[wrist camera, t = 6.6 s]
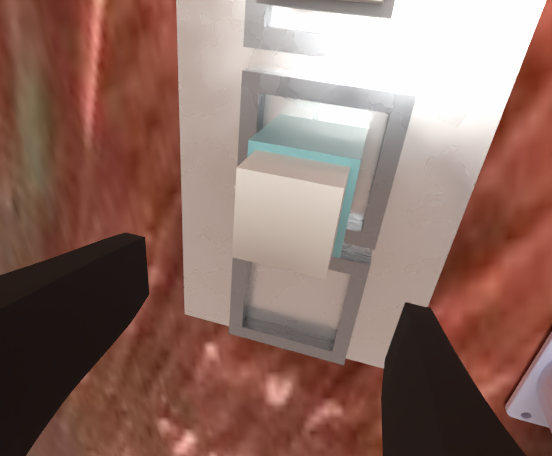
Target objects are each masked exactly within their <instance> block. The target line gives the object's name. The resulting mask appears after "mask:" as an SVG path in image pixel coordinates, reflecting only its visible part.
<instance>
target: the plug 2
mask: <svg viewBox="0 0 552 456" xmlns="http://www.w3.org/2000/svg"><path fill="white" fill-rule="evenodd" d="M367 132H368V128H361V127H355V126H349V125H343V124H337V123H331V122H325V121H319V120H313V119H307V118H301V117H295V116H289V115H283V114H280V115H278V116H277V117H276V118H275V119H273V120H272V121H271V122H270V123H269V124H267V125H266V126H265V127H264V128H262V129H261V130H260V131H259V132H258V133H256V134H255V135H254V136H253V137H251V138H250V139H249V140H248V156H247V158H246V159H245V160H244V161H243V162H242V163H241V164H240V165H239V166H238V167H237V169H236V189H235V208H234V228H233V248H232V257H233V258H237V259H242V260H246V261H250V262H254V263H258V264H262V265H267V266H271V267H275V268H279V269H283V270H287V271H292V272H296V273H300V274H304V275H308V276H312V277H317V278H321V279H325V280H326V277H327V273H328V269H329V265H330V261H331V257H337V258H340V254H341V250H342V245H343V241H344V236H345V232H346V227H347V223H348V218H349V214H350V209H351V205H352V200H353V196H354V191H355V187H356V182H357V177H358V173H359V168H360V164H361V159H362V155H363V150H364V146H365V141H366V137H367Z"/></svg>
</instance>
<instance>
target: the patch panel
mask: <svg viewBox="0 0 552 456" xmlns="http://www.w3.org/2000/svg"><path fill="white" fill-rule="evenodd" d="M545 2H546V0H396V1H395V5H394V10H393V14H392V19H385V18H376V17H367V16H358V15H349V14H340V13H331V12H322V11H313V10H304V9H295V8H287V7H280V6H274V5H267V4H260V3H256V0H176V5H177V42H178V79H179V117H180V154H181V191H182V229H183V266H184V303H185V314H186V315H190V316H193V317H197V318H201V319H204V320H208V321H212V322H215V323H219V324H223V325H226V326H229V334H233V335H237V336H240V337H244V338H247V339H251V340H255V341H258V342H262V343H265V344H269V345H273V346H276V347H280V348H283V349H287V350H291V351H294V352H298V353H301V354H305V355H309V356H312V357H316V358H320V359H323V360H327V361H330V362H334V363H338V364H341V365H344V362H345V358H347V359H351V360H354V361H358V362H362V363H365V364H369V365H372V366H376V367H380V368H383V369H384V362H385V357H386V354H387V352H388V349H389V346H390V343H391V340H392V338H393V335H394V332H395V329H396V326H397V323H398V321H399V318H400V315H401V312H402V309H403V307H404V304H405V302H408V303H412V304H416V305H420V306H424V307H428V305H429V302H430V300H431V297H432V294H433V292H434V289H435V287H436V284H437V281H438V279H439V276H440V274H441V271H442V269H443V266H444V263H445V261H446V258H447V256H448V253H449V250H450V248H451V245H452V243H453V240H454V237H455V235H456V232H457V230H458V227H459V225H460V222H461V219H462V217H463V214H464V212H465V209H466V206H467V204H468V201H469V199H470V196H471V193H472V191H473V188H474V186H475V183H476V181H477V178H478V175H479V173H480V170H481V168H482V165H483V162H484V160H485V157H486V155H487V152H488V149H489V147H490V144H491V142H492V139H493V137H494V134H495V131H496V129H497V126H498V124H499V121H500V118H501V116H502V113H503V111H504V108H505V106H506V103H507V100H508V98H509V95H510V93H511V90H512V87H513V85H514V82H515V80H516V77H517V74H518V72H519V69H520V67H521V64H522V62H523V59H524V56H525V54H526V51H527V49H528V46H529V43H530V41H531V38H532V36H533V33H534V30H535V28H536V25H537V23H538V20H539V18H540V15H541V12H542V10H543V7H544V5H545ZM280 114H283V115H289V116H295V117H301V118H307V119H313V120H319V121H325V122H331V123H337V124H343V125H349V126H355V127H361V128H368V132H367V137H366V141H365V146H364V150H363V155H362V159H361V164H360V168H359V173H358V177H357V182H356V187H355V191H354V196H353V200H352V205H351V209H350V214H349V218H348V223H347V227H346V232H345V236H344V241H343V245H342V250H341V254H340V258H337V257H331V261H330V265H329V269H328V273H327V277H326V280H325V279H321V278H317V277H312V276H308V275H304V274H300V273H296V272H292V271H287V270H283V269H279V268H275V267H271V266H267V265H262V264H258V263H254V262H250V261H246V260H242V259H237V258H233V257H232V248H233V228H234V208H235V189H236V169H237V167H238V166H239V165H240V164H241V163H242V162H243V161H244V160H245V159H246V158H247V156H248V140H249V139H250V138H251V137H253V136H254V135H255V134H256V133H258V132H259V131H260V130H261V129H262V128H264V127H265V126H266V125H267V124H269V123H270V122H271V121H272V120H273V119H275V118H276V117H277V116H278V115H280Z"/></svg>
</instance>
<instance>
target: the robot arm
mask: <svg viewBox="0 0 552 456" xmlns="http://www.w3.org/2000/svg"><path fill="white" fill-rule="evenodd" d="M148 295H149V285H148V272H147V258H146V245H145V237H141V236H137V235H133V234H129V233H123V234H119V235H116V236H112V237H109V238H106V239H104V240H101V241H98V242H95V243H92V244H90V245H87V246H84V247H81V248H79V249H76V250H73V251H70V252H68V253H65V254H62V255H59V256H57V257H54V258H51V259H48V260H45V261H42V262H39V263H36V264H33V265H30V266H27V267H24V268H21V269H18V270H15V271H12V272H9V273H6V274H3V275H0V456H26V454H27V453H28V452H29V450H30V449H31V447H32V446H33V444H34V443H35V441H36V440H37V438H38V437H39V435H40V434H41V432H42V431H43V430H44V428H45V427H46V425H47V424H48V423H49V421H50V420H51V418H52V417H53V416H54V414H55V413H56V411H57V410H58V409H59V407H60V406H61V404H62V403H63V402H64V401H65V399H66V398H67V397H68V396H69V394H70V393H71V392H72V391H73V389H74V388H75V387H76V386H77V385H78V383H79V382H80V381H81V380H82V379H83V378H84V376H85V375H86V374H87V373H88V372H89V371H90V370H91V368H92V367H93V366H94V365H95V364H96V363H97V362H98V360H99V359H100V358H101V357H102V356H103V355H104V353H105V352H106V351H107V350H108V349H109V348H110V347H111V345H112V344H113V343H114V342H115V341H116V340H117V338H118V337H119V336H120V335H121V334H122V333H123V331H124V330H125V329H126V328H127V327H128V325H129V324H130V323H131V321H132V320H133V319H134V317H135V316H136V314H137V313H138V311H139V310H140V308H141V306H142V305H143V303H144V302H145V300H146V298H147V297H148ZM381 403H382V441H383V456H526V455H525V454H524V452H523V451H522V450H521V448H520V447H519V446H518V445H517V443H516V442H515V441H514V439H513V438H512V437H511V435H510V434H509V433H508V431H507V430H506V429H505V427H504V426H503V425H502V423H501V422H500V420H499V419H498V418H497V416H496V415H495V413H494V412H493V410H492V409H491V407H490V406H489V405H488V403H487V402H486V400H485V399H484V397H483V396H482V394H481V393H480V391H479V390H478V388H477V386H476V385H475V383H474V382H473V380H472V378H471V377H470V375H469V374H468V372H467V370H466V369H465V367H464V365H463V364H462V362H461V361H460V359H459V357H458V355H457V354H456V352H455V350H454V349H453V347H452V345H451V343H450V342H449V340H448V338H447V336H446V334H445V333H444V331H443V329H442V327H441V325H440V324H439V322H438V320H437V318H436V316H435V315H434V313H433V311H432V310H431V308H428V307H424V306H420V305H416V304H412V303H408V302H405V304H404V307H403V309H402V312H401V315H400V318H399V321H398V323H397V326H396V329H395V332H394V335H393V338H392V340H391V343H390V346H389V349H388V352H387V354H386V357H385V362H384V373H383V384H382V396H381ZM505 409H506V412H507V414H508V415H509V416H510V417H513V418H516V419H519V420H523V421H527V422H530V423H534V424H537V425H541V426H544V427H548V428H550V430H551V433H552V332H551V333H550V335H549V336H548V338H547V340H546V341H545V343H544V344H543V346H542V348H541V349H540V351H539V353H538V354H537V356H536V357H535V359H534V361H533V362H532V364H531V365H530V367H529V369H528V370H527V372H526V373H525V375H524V377H523V378H522V380H521V381H520V383H519V385H518V386H517V388H516V389H515V391H514V393H513V394H512V396H511V397H510V399H509V401H508V402H507V404H506V406H505ZM524 412H526V413H524Z"/></svg>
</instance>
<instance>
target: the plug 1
mask: <svg viewBox="0 0 552 456" xmlns="http://www.w3.org/2000/svg"><path fill="white" fill-rule="evenodd" d="M395 1H396V0H256V3H260V4H267V5H274V6H280V7H287V8H295V9H304V10H313V11H322V12H331V13H340V14H349V15H358V16H367V17H376V18H385V19H392V14H393V10H394V5H395Z"/></svg>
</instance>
